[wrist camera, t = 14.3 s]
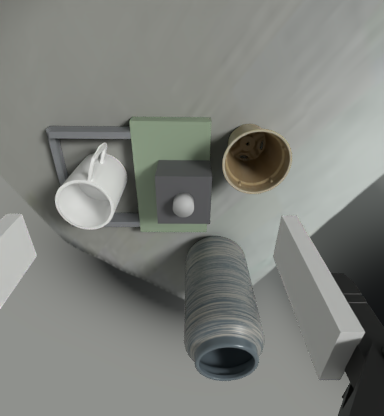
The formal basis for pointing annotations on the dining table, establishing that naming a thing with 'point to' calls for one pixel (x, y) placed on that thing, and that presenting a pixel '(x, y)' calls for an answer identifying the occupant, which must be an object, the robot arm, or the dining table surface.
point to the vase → (221, 311)
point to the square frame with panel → (157, 170)
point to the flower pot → (256, 159)
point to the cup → (92, 190)
